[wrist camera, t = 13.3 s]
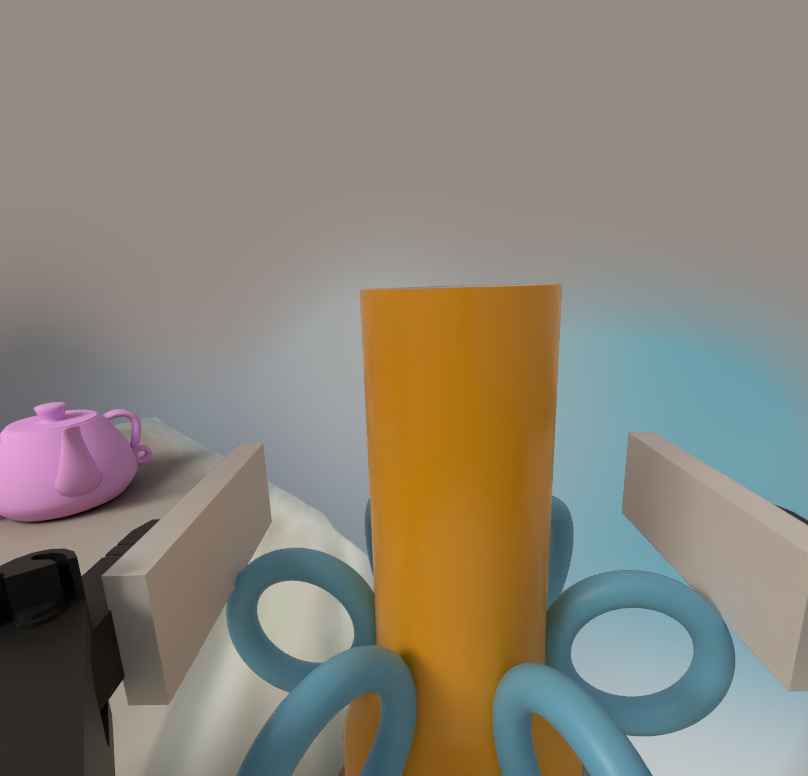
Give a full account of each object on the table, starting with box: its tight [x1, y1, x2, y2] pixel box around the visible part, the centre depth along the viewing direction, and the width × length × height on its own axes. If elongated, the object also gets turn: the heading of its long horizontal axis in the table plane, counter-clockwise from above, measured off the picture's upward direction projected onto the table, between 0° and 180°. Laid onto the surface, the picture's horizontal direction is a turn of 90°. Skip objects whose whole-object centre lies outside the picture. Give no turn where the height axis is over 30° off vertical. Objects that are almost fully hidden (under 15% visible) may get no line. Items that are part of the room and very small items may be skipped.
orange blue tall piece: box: [226, 284, 735, 776], centre depth 11 cm, size 12×10×15 cm
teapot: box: [0, 402, 152, 522], centre depth 60 cm, size 22×22×14 cm
